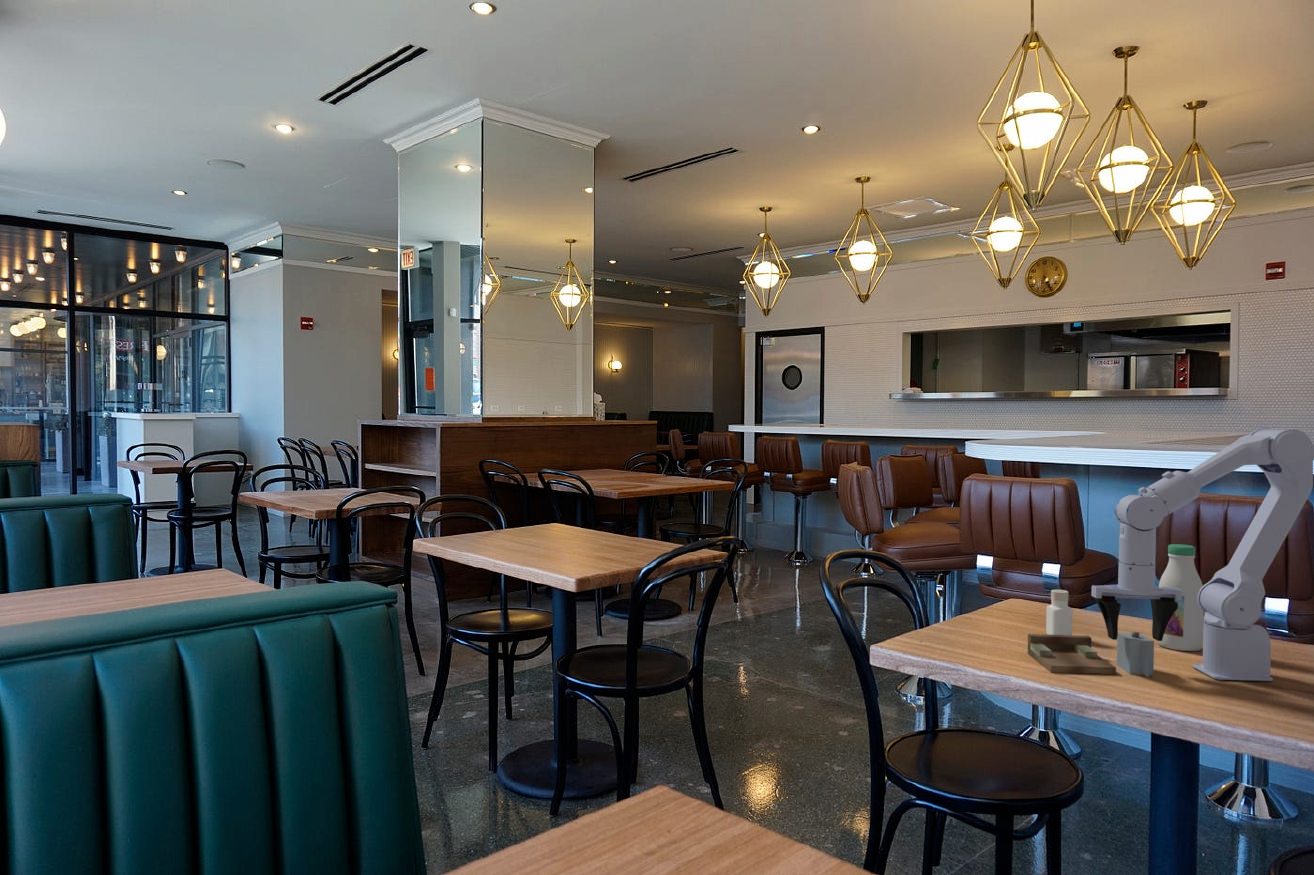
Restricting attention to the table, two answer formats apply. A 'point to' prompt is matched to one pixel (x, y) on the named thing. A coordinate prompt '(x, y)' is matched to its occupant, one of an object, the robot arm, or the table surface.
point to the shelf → (1067, 654)
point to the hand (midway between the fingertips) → (1134, 639)
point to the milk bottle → (1183, 600)
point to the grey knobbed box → (1135, 653)
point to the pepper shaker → (1059, 614)
